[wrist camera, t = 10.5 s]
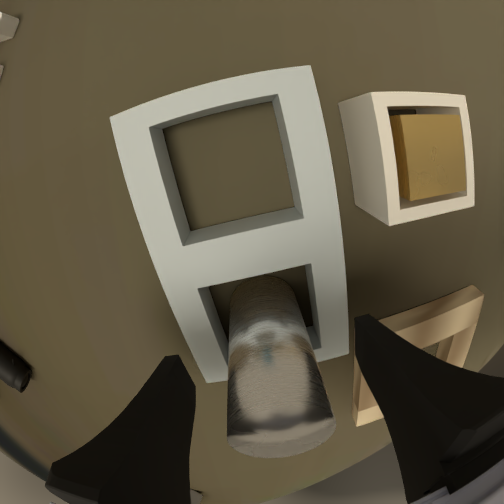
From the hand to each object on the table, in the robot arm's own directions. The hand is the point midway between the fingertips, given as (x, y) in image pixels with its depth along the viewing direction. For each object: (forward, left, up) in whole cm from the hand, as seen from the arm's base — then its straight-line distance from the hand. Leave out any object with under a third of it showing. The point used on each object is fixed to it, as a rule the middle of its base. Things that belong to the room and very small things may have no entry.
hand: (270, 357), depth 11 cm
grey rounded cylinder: (0, 0, -4) cm, 4 cm away
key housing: (-8, -6, -4) cm, 11 cm away
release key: (-8, -6, -4) cm, 11 cm away
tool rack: (0, -4, -4) cm, 6 cm away
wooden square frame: (-10, +8, -4) cm, 14 cm away
